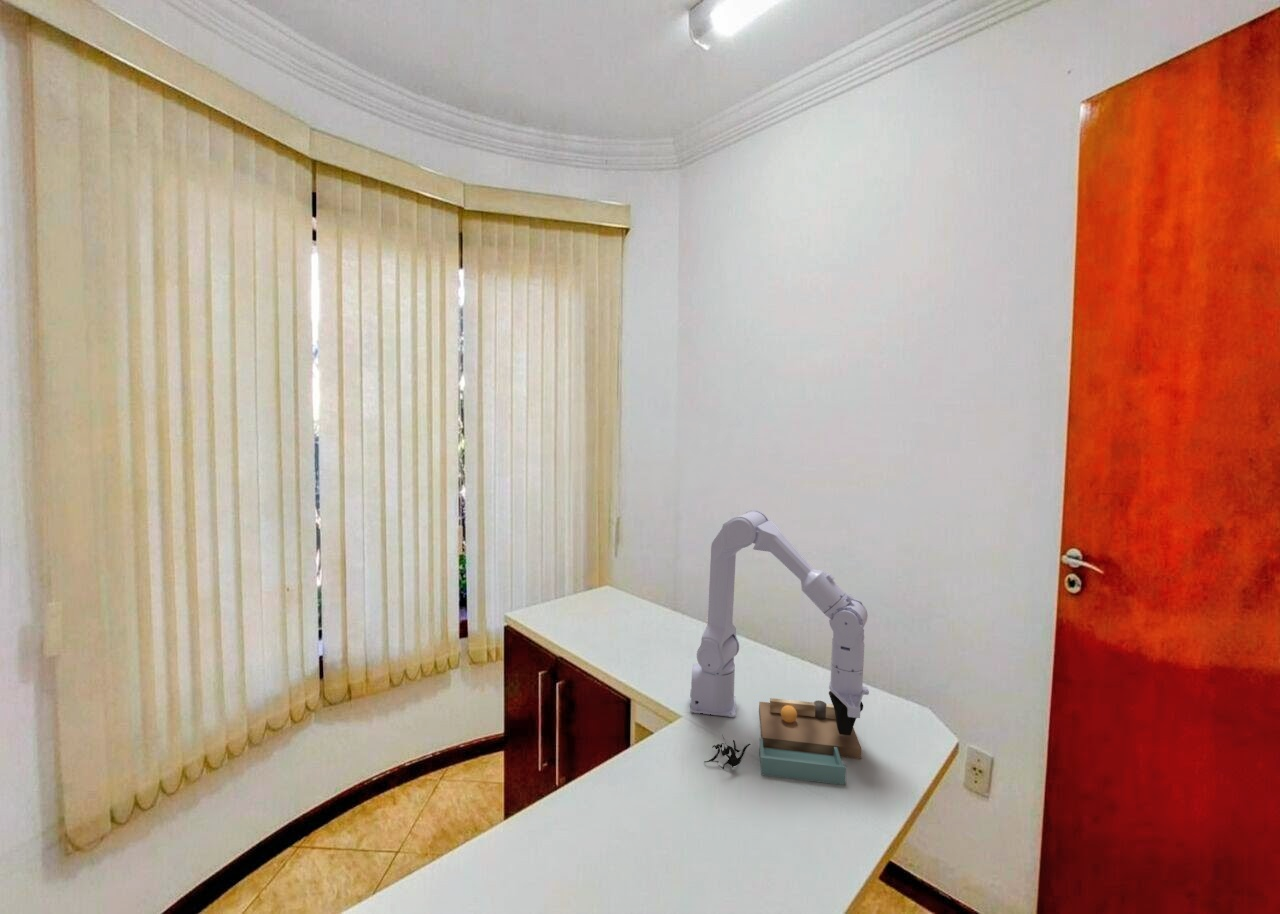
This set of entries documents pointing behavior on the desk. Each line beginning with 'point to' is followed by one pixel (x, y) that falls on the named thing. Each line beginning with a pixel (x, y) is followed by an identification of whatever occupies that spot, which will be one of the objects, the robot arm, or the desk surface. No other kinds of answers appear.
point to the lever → (805, 708)
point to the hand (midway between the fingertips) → (844, 732)
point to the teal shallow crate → (802, 765)
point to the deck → (806, 734)
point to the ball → (788, 714)
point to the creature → (732, 759)
